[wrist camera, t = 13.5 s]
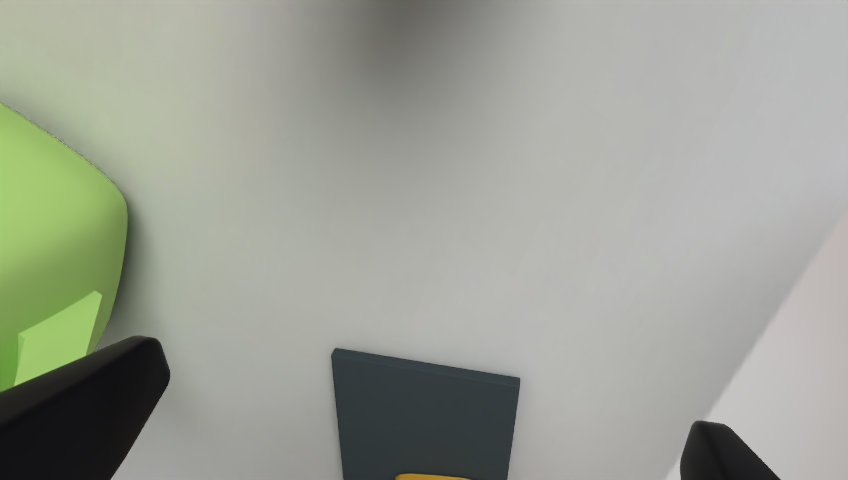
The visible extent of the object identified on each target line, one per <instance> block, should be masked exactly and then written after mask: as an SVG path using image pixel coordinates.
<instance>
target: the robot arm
mask: <svg viewBox="0 0 848 480" xmlns="http://www.w3.org/2000/svg"><path fill="white" fill-rule="evenodd" d="M169 380H170V370H169V367H168V364H167V361H166V358H165V355H164V352H163V349H162V346H161V343H160V342H159V341H158V340H157V339H155V338H152V337H145V336H132V337H129V338H127V339H124V340H122V341H120V342H117V343H115V344H113V345H110V346H108V347H106V348H103V349H101V350H98V351H96V352H94V353H91V354H89V355H87V356H84V357H82V358H80V359H77V360H75V361H72V362H70V363H68V364H65V365H63V366H61V367H58V368H56V369H54V370H51V371H49V372H47V373H44V374H42V375H39V376H37V377H35V378H32V379H30V380H28V381H25V382H23V383H21V384H18V385H16V386H13V387H11V388H9V389H6V390H4V391H2V392H0V480H110V479H111V478H112V477H113V475H114V474H115V472H116V471H117V469H118V468H119V466H120V465H121V463H122V462H123V460H124V459H125V457H126V455H127V454H128V452H129V451H130V449H131V447H132V446H133V444H134V442H135V440H136V439H137V437H138V435H139V434H140V432H141V430H142V428H143V427H144V425H145V423H146V422H147V420H148V418H149V417H150V415H151V413H152V411H153V410H154V408H155V406H156V405H157V403H158V401H159V399H160V398H161V396H162V394H163V393H164V391H165V389H166V388H167V386H168V383H169ZM680 474H681V480H780V479H779V478H778V477H777V476H776V475H775V473H774V472H773V471H771V469H770V468H769V467H768V466H767V465H766V464H765V463H764V462H763V461H762V460H761V459H760V458H759V457H758V456H757V455H756V454H755V453H754V452H753V451H752V450H751V449H750V448H749V447H748V446H747V445H746V444H745V443H744V442H743V441H742V439H740V437H739V436H738V435H737V434H736V433H735V432H734V431H733V430H732V429H731V428H729V427H728V426H726V425H724V424H720V423H714V422H707V421H696V422H694V423H693V425H692V427H691V429H690V432H689V435H688V438H687V442H686V445H685V448H684V451H683V454H682V457H681V462H680Z"/></svg>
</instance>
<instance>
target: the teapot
mask: <svg viewBox="0 0 848 480" xmlns="http://www.w3.org/2000/svg"><path fill="white" fill-rule="evenodd" d="M127 223H128V212H127V205H126V202H125V200H124V198H123V195H122V194H121V193H120V191H119V190H118V189H117V187H116V186H115V185H114V184H113V183H112V182H111V181H110V180H109V179H108V178H107V177H106V176H105V175H104V174H103V173H102V172H100V171H99V170H98V169H97V168H95V167H94V166H93V165H91V164H90V163H89V162H88V161H86V160H85V159H84V158H83V157H81V156H80V155H78V154H77V153H76V152H74V151H73V150H71V149H70V148H69V147H67V146H66V145H64V144H63V143H62V142H60V141H59V140H57V139H56V138H55V137H53V136H52V135H50V134H49V133H47V132H46V131H44V130H43V129H42V128H40V127H39V126H37V125H36V124H34V123H33V122H31V121H29V120H28V119H26V118H25V117H23V116H22V115H20V114H19V113H17V112H15V111H14V110H12V109H10V108H9V107H7V106H5V105H4V104H2V103H0V392H2V391H4V390H6V389H9V388H11V387H13V386H16V385H18V384H21V383H23V382H25V381H28V380H30V379H32V378H35V377H37V376H39V375H42V374H44V373H47V372H49V371H51V370H54V369H56V368H58V367H61V366H63V365H65V364H68V363H70V362H72V361H75V360H77V359H80V358H82V357H84V356H87V355H89V354H91V353H93V351H94V349H95V348H96V346H97V344H98V342H99V340H100V339H101V337H102V335H103V332H104V330H105V328H106V326H107V323H108V321H109V318H110V316H111V312H112V308H113V305H114V301H115V298H116V294H117V290H118V285H119V281H120V276H121V271H122V265H123V259H124V252H125V244H126V237H127Z"/></svg>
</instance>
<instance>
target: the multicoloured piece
mask: <svg viewBox="0 0 848 480" xmlns="http://www.w3.org/2000/svg"><path fill="white" fill-rule="evenodd" d="M395 480H470V479H466V478H459V477H449V476H439V475H425V474H400V475H398V476H396V477H395Z"/></svg>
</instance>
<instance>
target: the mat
mask: <svg viewBox="0 0 848 480" xmlns="http://www.w3.org/2000/svg"><path fill="white" fill-rule="evenodd" d="M331 357H332V368H333V378H334V388H335V398H336V408H337V418H338V428H339V438H340V448H341V458H342V468H343V478H344V480H395V477H396V476H398V475H400V474H425V475H439V476H449V477H459V478H466V479H470V480H507V475H508V468H509V461H510V454H511V446H512V439H513V432H514V425H515V417H516V410H517V403H518V396H519V388H520V378H516V377H510V376H504V375H498V374H491V373H485V372H479V371H473V370H467V369H461V368H455V367H448V366H442V365H436V364H430V363H424V362H418V361H412V360H405V359H399V358H393V357H387V356H381V355H375V354H369V353H363V352H356V351H350V350H344V349H338V348H336V349H335V350H334V352H333V354H332V355H331Z"/></svg>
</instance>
